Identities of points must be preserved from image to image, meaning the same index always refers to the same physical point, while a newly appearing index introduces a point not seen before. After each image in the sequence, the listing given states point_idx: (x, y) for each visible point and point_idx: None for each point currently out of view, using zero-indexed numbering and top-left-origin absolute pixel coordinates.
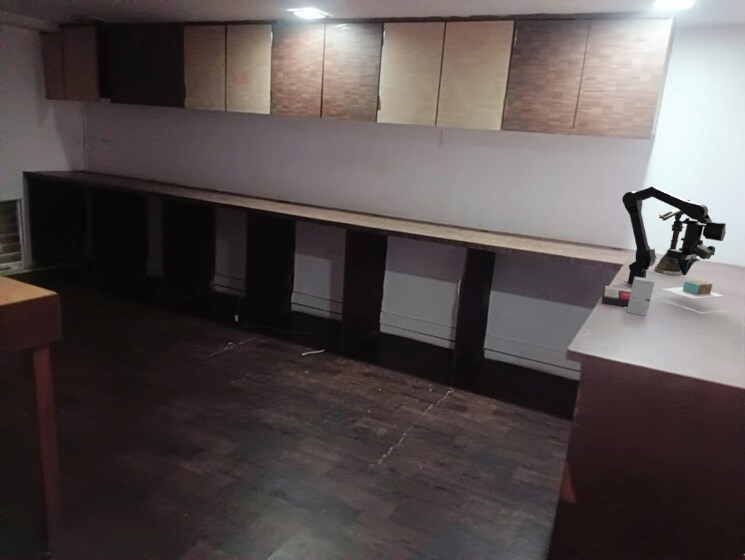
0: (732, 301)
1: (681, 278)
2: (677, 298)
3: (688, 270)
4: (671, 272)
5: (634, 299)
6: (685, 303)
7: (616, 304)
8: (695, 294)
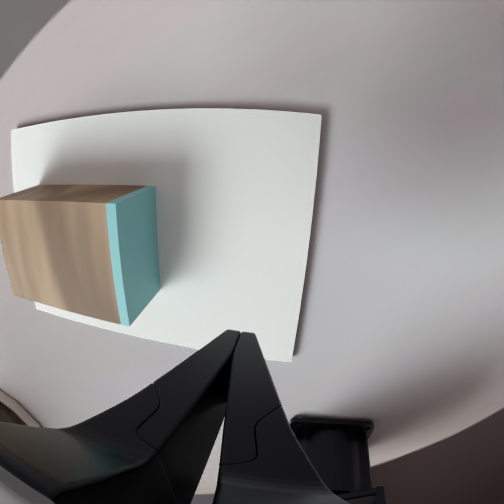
0: (49, 46)
1: (11, 377)
2: (406, 188)
3: (193, 361)
4: (18, 412)
5: None
6: (471, 93)
7: None
8: (159, 189)
